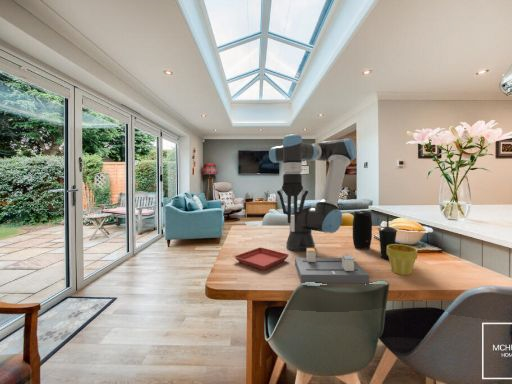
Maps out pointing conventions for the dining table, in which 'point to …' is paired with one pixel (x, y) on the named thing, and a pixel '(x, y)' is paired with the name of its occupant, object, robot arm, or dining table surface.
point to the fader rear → (310, 254)
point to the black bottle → (386, 239)
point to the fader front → (348, 262)
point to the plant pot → (402, 258)
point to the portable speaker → (362, 229)
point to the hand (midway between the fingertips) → (292, 230)
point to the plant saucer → (261, 258)
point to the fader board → (329, 271)
